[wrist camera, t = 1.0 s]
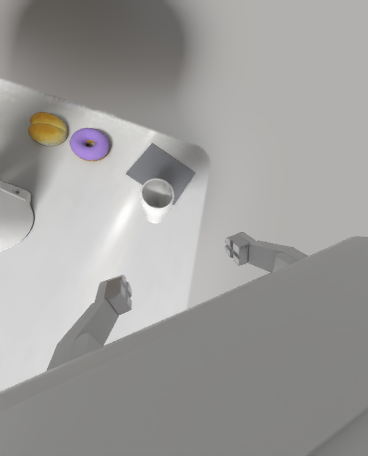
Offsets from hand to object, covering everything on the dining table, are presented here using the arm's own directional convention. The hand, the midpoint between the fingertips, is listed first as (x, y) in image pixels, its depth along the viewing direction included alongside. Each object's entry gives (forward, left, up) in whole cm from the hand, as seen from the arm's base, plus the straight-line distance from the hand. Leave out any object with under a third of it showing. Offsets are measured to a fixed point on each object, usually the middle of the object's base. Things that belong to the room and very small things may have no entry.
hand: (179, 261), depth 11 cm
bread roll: (-45, +14, -31) cm, 56 cm away
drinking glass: (-8, +10, -30) cm, 33 cm away
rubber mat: (-13, +23, -30) cm, 40 cm away
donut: (-34, +17, -31) cm, 49 cm away
